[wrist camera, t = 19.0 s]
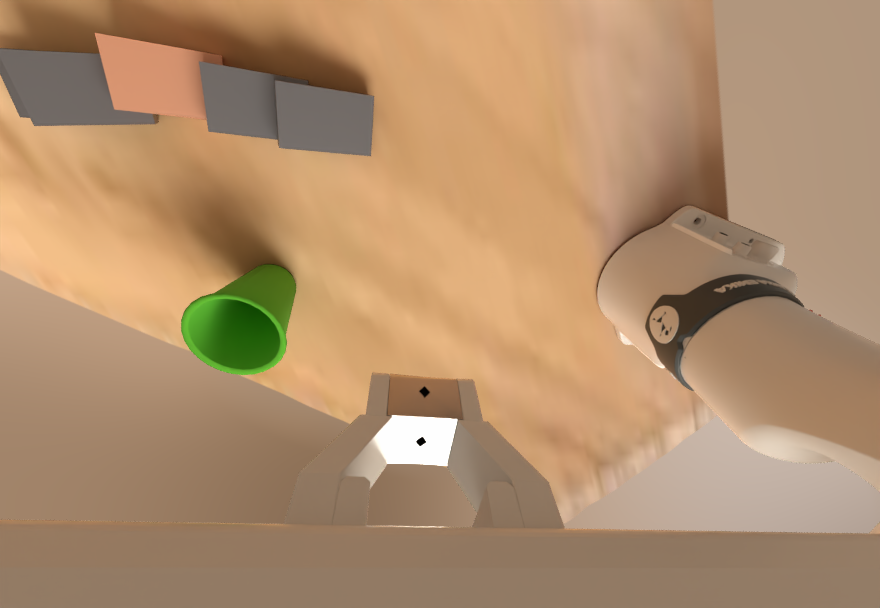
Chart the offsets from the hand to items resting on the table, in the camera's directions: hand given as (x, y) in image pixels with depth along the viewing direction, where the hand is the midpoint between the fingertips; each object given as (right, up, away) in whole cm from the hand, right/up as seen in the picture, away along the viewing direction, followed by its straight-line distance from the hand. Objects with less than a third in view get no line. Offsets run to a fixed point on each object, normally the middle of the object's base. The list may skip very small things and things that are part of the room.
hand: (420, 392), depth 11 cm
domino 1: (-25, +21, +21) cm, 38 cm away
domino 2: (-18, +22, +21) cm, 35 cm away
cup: (-19, +5, +32) cm, 37 cm away
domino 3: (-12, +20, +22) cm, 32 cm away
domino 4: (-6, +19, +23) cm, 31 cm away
